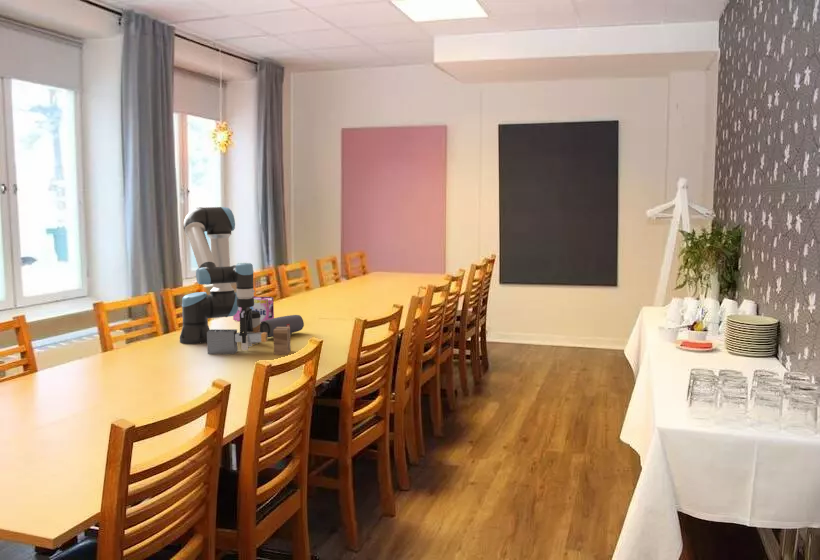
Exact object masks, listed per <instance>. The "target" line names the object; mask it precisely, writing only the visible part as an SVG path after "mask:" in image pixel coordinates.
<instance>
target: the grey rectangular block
mask: <svg viewBox="0 0 820 560" xmlns="http://www.w3.org/2000/svg"><path fill="white" fill-rule="evenodd" d="M234 333H238V329H234V328H232V329H230V328H229V329H210V330H209V331H208V332H207V342H206V346H207V347H206V349H207V355H234V354H236V353H237V352H238V350H239V349H238V342H234Z"/></svg>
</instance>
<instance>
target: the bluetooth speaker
mask: <svg viewBox="0 0 820 560" xmlns="http://www.w3.org/2000/svg"><path fill="white" fill-rule="evenodd" d="M302 317H303V316H301V315H300V314H289V315H283V316H278V317H274V318H273V319H269V320H265V321H262V322H261V323H260V333H263V332H267V339H269V338H273V339H274V334H273V330H274V329H275V328H276V327H290V336H292V334H294V333H297V332H300V331H302V330H303V329H304V326H305V323H304V322H305V321H304V319H303V318H302Z"/></svg>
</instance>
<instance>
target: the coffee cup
mask: <svg viewBox="0 0 820 560" xmlns="http://www.w3.org/2000/svg"><path fill="white" fill-rule="evenodd" d="M260 317H261V316H260V313H259V312H258V311H252V325H253V329H252V330H253V332H252V333H260ZM256 343H259V344H260V342H252V344H255V345H257V344H256Z"/></svg>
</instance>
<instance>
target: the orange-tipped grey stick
mask: <svg viewBox="0 0 820 560" xmlns="http://www.w3.org/2000/svg"><path fill="white" fill-rule="evenodd" d="M239 334H240V332H237V333H234V342H237V343H241V336H239ZM247 335H248V342H259V343H266V342H267V341H268V338H267V332H263V333H247Z"/></svg>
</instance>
